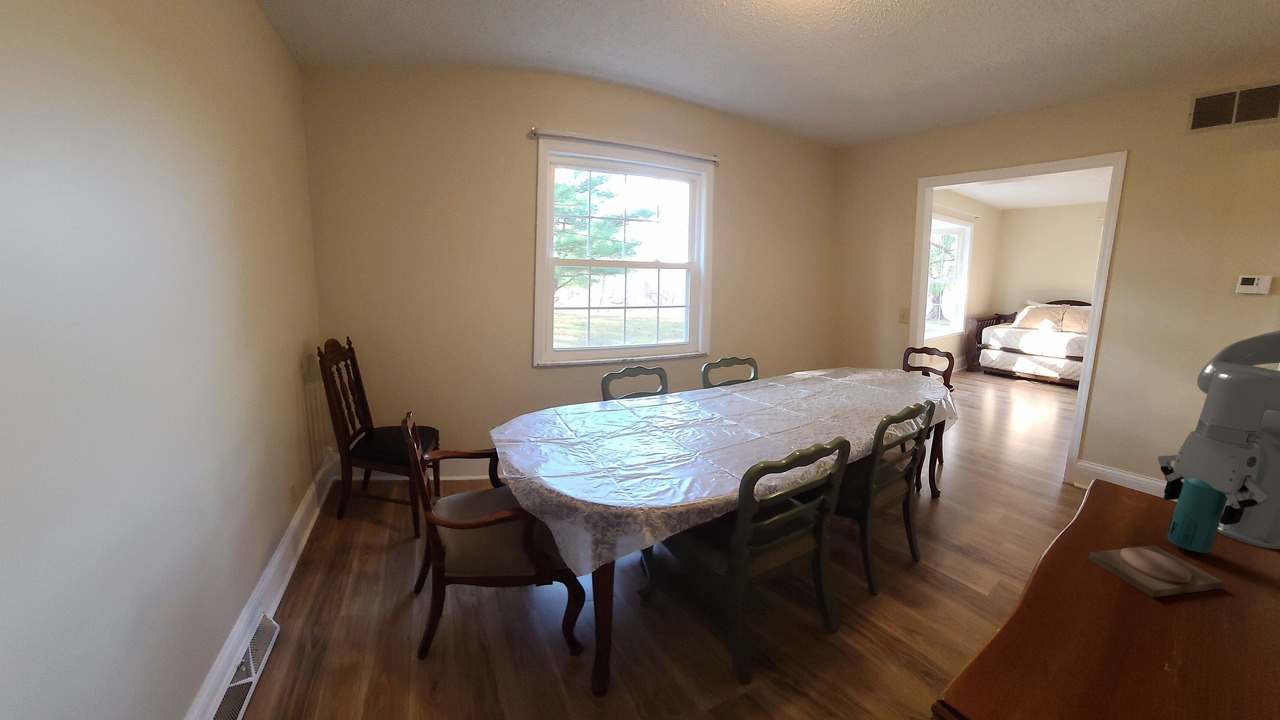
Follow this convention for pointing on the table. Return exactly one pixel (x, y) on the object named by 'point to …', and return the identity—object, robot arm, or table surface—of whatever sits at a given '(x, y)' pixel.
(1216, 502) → the beverage bottle
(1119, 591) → the table surface
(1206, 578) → the rectangular slab with oval
